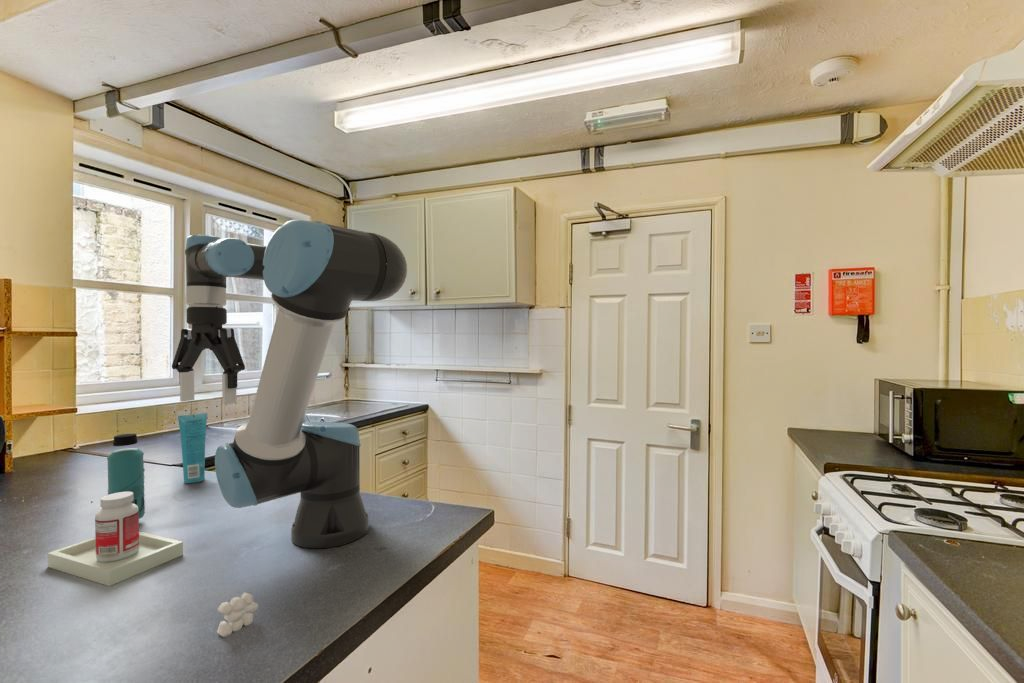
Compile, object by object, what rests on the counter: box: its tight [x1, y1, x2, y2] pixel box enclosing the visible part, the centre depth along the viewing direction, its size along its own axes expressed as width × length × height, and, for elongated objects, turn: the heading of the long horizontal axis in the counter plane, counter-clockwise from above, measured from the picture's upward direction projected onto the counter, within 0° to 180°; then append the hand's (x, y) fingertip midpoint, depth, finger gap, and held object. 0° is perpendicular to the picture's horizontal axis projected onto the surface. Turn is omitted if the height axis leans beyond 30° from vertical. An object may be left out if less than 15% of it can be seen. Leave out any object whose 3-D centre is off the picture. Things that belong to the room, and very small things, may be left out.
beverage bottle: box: [106, 433, 146, 520], centre depth 103 cm, size 6×7×20 cm
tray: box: [47, 531, 184, 587], centre depth 87 cm, size 18×12×2 cm, turn 68°
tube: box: [177, 412, 208, 484], centre depth 135 cm, size 7×5×19 cm, turn 152°
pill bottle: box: [94, 492, 140, 562], centre depth 87 cm, size 6×6×11 cm
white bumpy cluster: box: [216, 592, 259, 638], centre depth 67 cm, size 5×1×4 cm, turn 148°
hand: (207, 402), depth 105 cm, fingers open, 13 cm apart
